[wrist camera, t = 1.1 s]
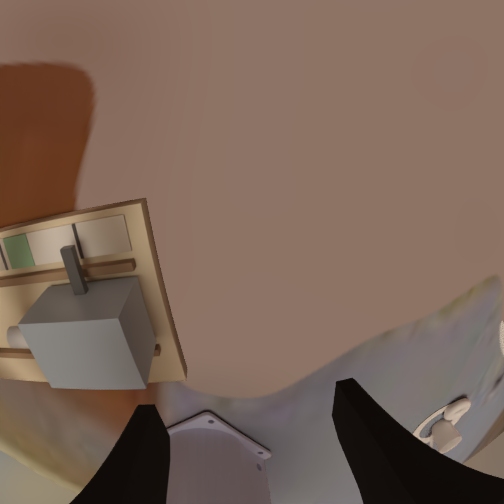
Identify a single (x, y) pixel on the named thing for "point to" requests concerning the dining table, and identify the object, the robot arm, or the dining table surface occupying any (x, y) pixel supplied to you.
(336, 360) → the dining table surface
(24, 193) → the dining table surface
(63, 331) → the gauge carriage
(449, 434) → the teacup and saucer
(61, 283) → the scale board
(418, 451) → the robot arm
